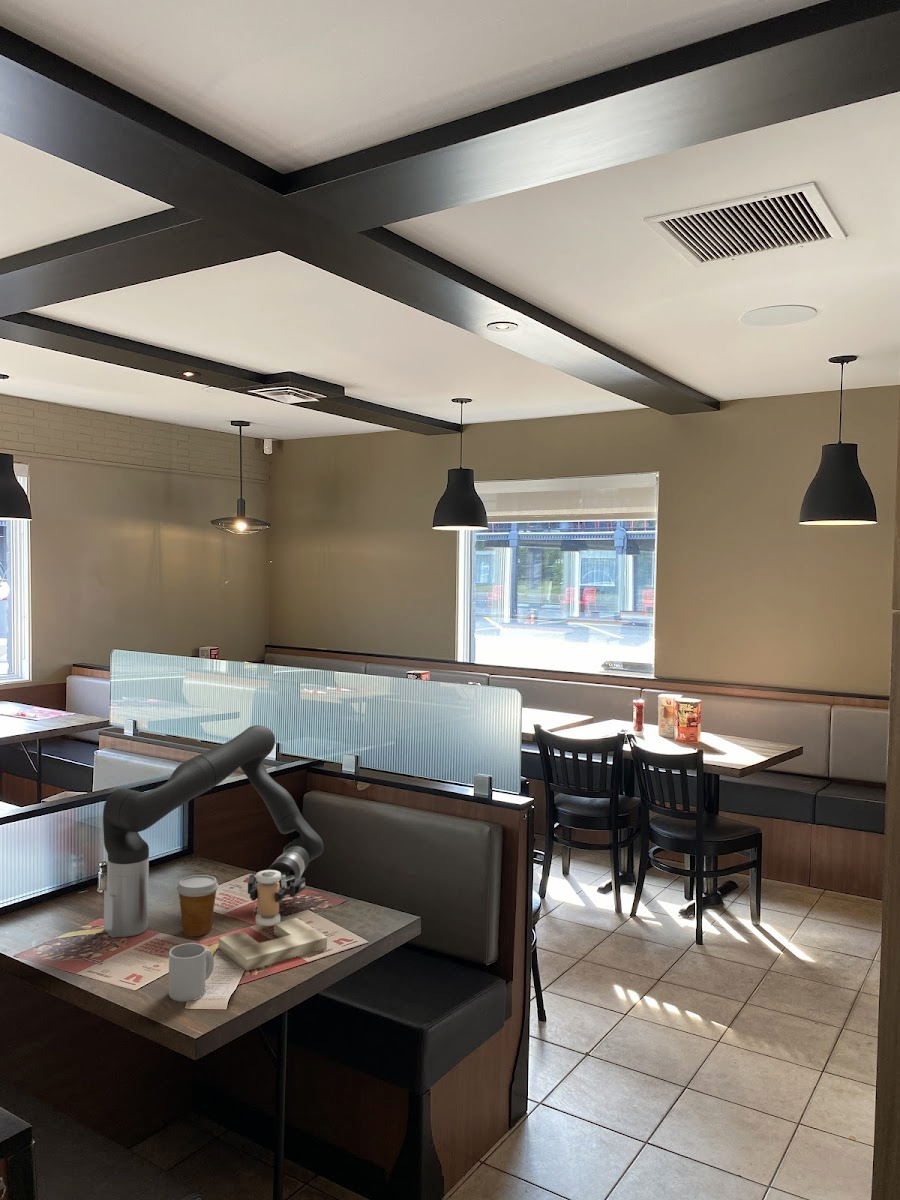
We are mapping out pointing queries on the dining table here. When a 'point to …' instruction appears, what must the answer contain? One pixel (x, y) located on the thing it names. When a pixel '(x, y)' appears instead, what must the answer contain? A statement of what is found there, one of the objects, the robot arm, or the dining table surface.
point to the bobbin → (267, 897)
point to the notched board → (273, 944)
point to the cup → (189, 971)
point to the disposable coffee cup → (197, 903)
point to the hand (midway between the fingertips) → (264, 897)
